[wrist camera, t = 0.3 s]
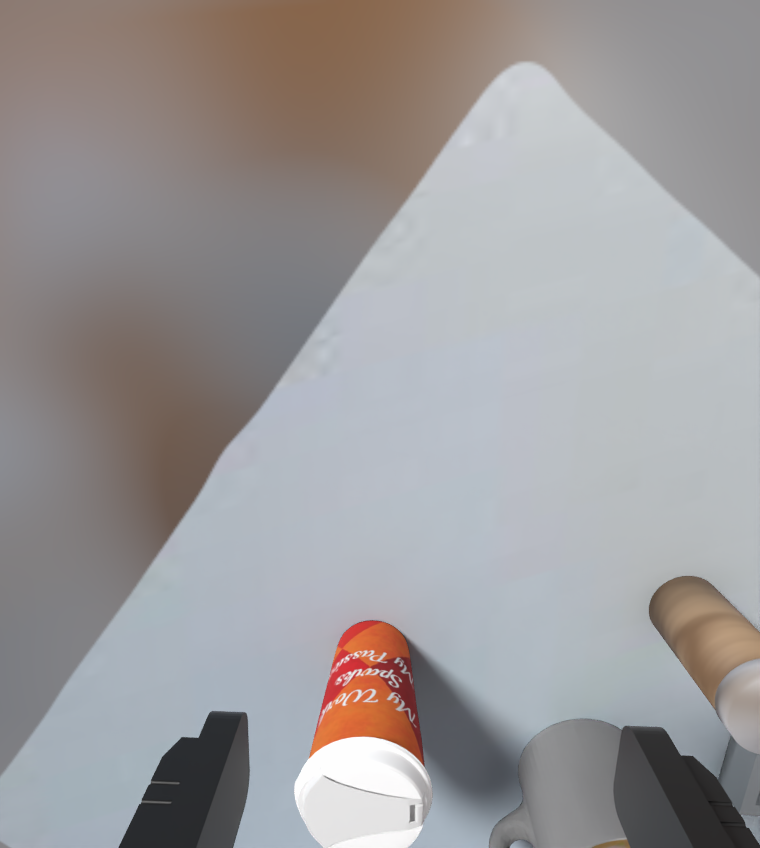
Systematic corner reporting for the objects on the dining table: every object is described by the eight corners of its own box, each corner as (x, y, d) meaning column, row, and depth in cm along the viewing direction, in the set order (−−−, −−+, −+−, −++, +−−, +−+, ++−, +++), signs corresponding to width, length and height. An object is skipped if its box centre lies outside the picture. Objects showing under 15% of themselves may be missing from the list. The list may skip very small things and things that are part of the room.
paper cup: (423, 608, 44) (435, 757, 31) (421, 694, 46) (432, 870, 33) (320, 606, 44) (287, 754, 31) (323, 692, 46) (293, 867, 33)
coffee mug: (634, 709, 46) (697, 826, 36) (646, 808, 48) (709, 942, 39) (466, 735, 47) (485, 855, 37) (486, 830, 49) (509, 967, 40)
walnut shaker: (712, 641, 44) (812, 759, 34) (641, 635, 44) (718, 751, 34) (728, 577, 43) (838, 679, 32) (655, 571, 43) (740, 671, 32)
